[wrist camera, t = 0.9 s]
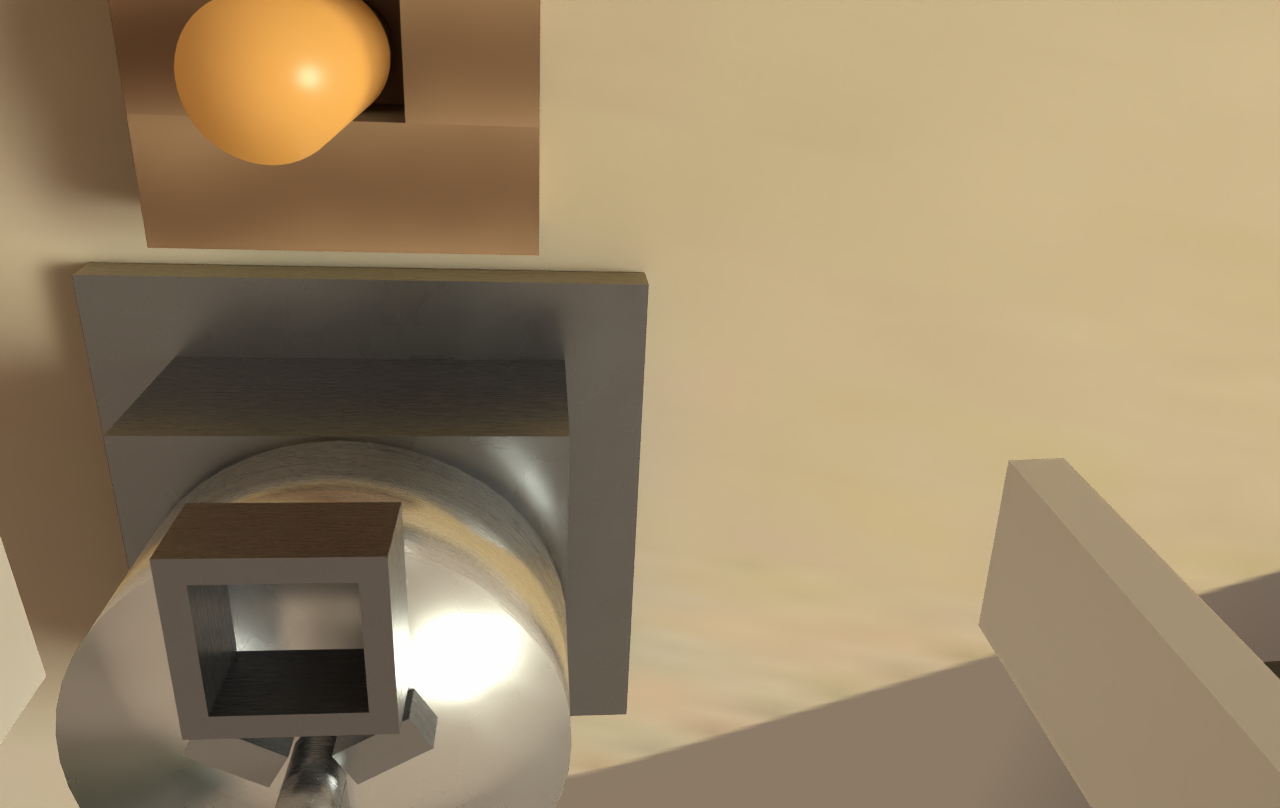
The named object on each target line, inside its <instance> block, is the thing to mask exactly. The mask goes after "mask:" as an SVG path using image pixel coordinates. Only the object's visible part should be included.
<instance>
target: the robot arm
mask: <svg viewBox="0 0 1280 808" xmlns="http://www.w3.org/2000/svg"><path fill="white" fill-rule="evenodd" d="M979 627H980V628H981V630H982V632H983V633H984V635H985V637H986V638H987V640H988V641H989V643H990V645H991V646H992V648H993V649H994V651H995V653H996V654H997V656H998V658H999V659H1000V661H1001V662H1002V664H1003V666H1004V667H1005V669H1006V670H1007V672H1008V674H1009V675H1010V677H1011V679H1012V680H1013V682H1014V683H1015V685H1016V687H1017V688H1018V690H1019V691H1020V693H1021V695H1022V696H1023V698H1024V699H1025V701H1026V703H1027V704H1028V706H1029V708H1030V709H1031V711H1032V712H1033V714H1034V716H1035V717H1036V719H1037V720H1038V722H1039V724H1040V725H1041V727H1042V729H1043V730H1044V731H1045V733H1046V735H1047V736H1048V738H1049V740H1050V742H1051V743H1052V745H1053V746H1054V748H1055V749H1056V751H1057V753H1058V754H1059V756H1060V758H1061V759H1062V761H1063V762H1064V764H1065V765H1066V767H1067V769H1068V770H1069V772H1070V774H1071V775H1072V777H1073V779H1074V780H1075V782H1076V783H1077V785H1078V787H1079V788H1080V790H1081V792H1082V793H1083V795H1084V796H1085V798H1086V799H1087V801H1088V803H1089V804H1090V806H1091V808H1280V661H1274V662H1262V661H1261V660H1260V659H1259V658H1258V656H1256V655H1255V653H1253V651H1252V650H1251V649H1250V648H1249V647H1248V646H1247V645H1246V644H1245V643H1244V642H1243V641H1242V640H1241V639H1240V638H1239V637H1238V636H1237V635H1236V634H1235V633H1234V632H1233V631H1232V630H1231V629H1230V628H1229V627H1228V626H1227V625H1226V624H1225V623H1224V622H1223V621H1222V620H1221V619H1220V618H1219V617H1218V616H1217V615H1216V614H1215V612H1214V611H1213V610H1212V609H1210V607H1209V606H1208V605H1207V604H1206V603H1205V602H1204V601H1203V600H1202V599H1201V598H1200V597H1199V596H1198V595H1197V594H1196V593H1195V592H1194V591H1193V590H1192V589H1191V588H1190V587H1189V586H1188V585H1187V584H1186V583H1185V582H1184V581H1183V580H1182V579H1181V578H1180V577H1179V576H1178V575H1177V574H1176V573H1175V572H1174V571H1173V570H1172V568H1171V567H1170V566H1169V565H1168V564H1167V563H1166V562H1165V561H1164V560H1163V559H1162V558H1161V557H1160V556H1159V555H1158V554H1157V553H1156V552H1155V551H1154V550H1153V549H1152V548H1151V547H1150V546H1149V545H1148V544H1147V543H1146V542H1145V541H1144V540H1143V539H1142V538H1141V537H1140V536H1139V535H1138V534H1137V533H1136V532H1135V531H1134V530H1133V529H1132V528H1131V527H1130V526H1129V524H1128V523H1127V522H1126V521H1125V520H1124V519H1123V518H1122V517H1121V516H1120V515H1119V514H1118V513H1117V512H1116V511H1115V510H1114V509H1113V508H1112V507H1111V506H1110V505H1109V504H1108V503H1107V502H1106V501H1105V500H1104V499H1103V498H1102V497H1101V496H1100V495H1099V494H1098V493H1097V492H1096V491H1095V490H1094V489H1093V488H1092V487H1091V486H1090V485H1089V484H1088V483H1087V482H1086V480H1085V479H1084V478H1083V477H1082V476H1081V475H1080V474H1079V473H1078V472H1077V471H1076V470H1075V469H1074V468H1073V467H1072V466H1071V465H1070V464H1069V463H1068V462H1067V461H1066V460H1065V459H1064V458H1055V459H1030V460H1009V462H1008V467H1007V473H1006V478H1005V484H1004V489H1003V495H1002V500H1001V506H1000V511H999V517H998V522H997V528H996V533H995V539H994V544H993V550H992V555H991V561H990V566H989V572H988V577H987V582H986V588H985V593H984V599H983V604H982V610H981V615H980V621H979ZM45 677H46V674H45V671H44V668H43V664H42V661H41V658H40V655H39V652H38V649H37V646H36V643H35V640H34V637H33V634H32V631H31V628H30V625H29V622H28V619H27V616H26V613H25V610H24V607H23V604H22V601H21V598H20V595H19V592H18V589H17V586H16V582H15V579H14V576H13V573H12V570H11V567H10V564H9V561H8V558H7V555H6V552H5V549H4V546H3V543H2V540H1V537H0V744H1V743H2V741H3V740H4V738H5V737H6V735H7V734H8V732H9V731H10V729H11V728H12V726H13V725H14V723H15V722H16V720H17V719H18V717H19V716H20V714H21V713H22V711H23V710H24V708H25V707H26V705H27V704H28V703H29V701H30V700H31V698H32V697H33V695H34V694H35V692H36V691H37V689H38V688H39V686H40V685H41V683H42V682H43V680H44V679H45Z"/></svg>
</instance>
